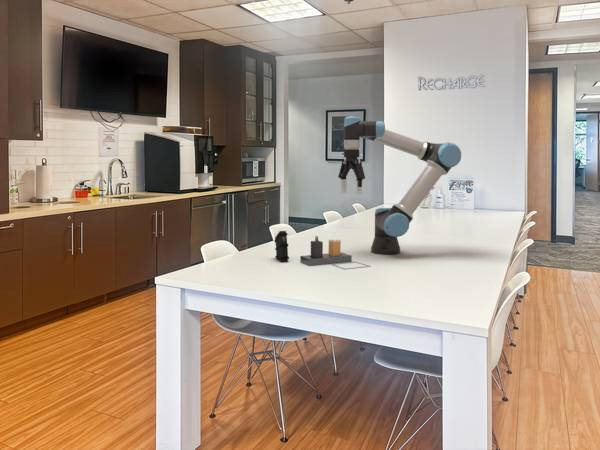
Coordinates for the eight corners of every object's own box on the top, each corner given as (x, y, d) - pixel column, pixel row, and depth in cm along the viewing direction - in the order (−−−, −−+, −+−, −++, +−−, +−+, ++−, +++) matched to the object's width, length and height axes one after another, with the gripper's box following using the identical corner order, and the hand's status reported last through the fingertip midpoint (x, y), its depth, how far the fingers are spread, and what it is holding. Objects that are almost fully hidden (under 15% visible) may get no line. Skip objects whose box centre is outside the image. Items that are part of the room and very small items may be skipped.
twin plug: (318, 261, 239) (318, 235, 238) (322, 263, 236) (322, 236, 234) (310, 262, 237) (310, 235, 236) (314, 264, 234) (314, 237, 232)
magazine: (282, 262, 235) (279, 230, 239) (276, 269, 247) (273, 239, 251) (290, 261, 236) (287, 230, 240) (284, 269, 248) (280, 239, 252)
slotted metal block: (341, 260, 248) (341, 252, 247) (351, 263, 240) (351, 255, 239) (300, 264, 238) (300, 256, 237) (309, 268, 230) (309, 259, 229)
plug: (335, 260, 243) (336, 239, 242) (340, 261, 240) (340, 240, 239) (328, 260, 242) (328, 239, 240) (332, 262, 238) (333, 241, 237)
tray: (356, 263, 240) (356, 261, 240) (371, 268, 229) (371, 266, 229) (330, 266, 233) (330, 264, 233) (344, 271, 223) (344, 269, 223)
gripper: (331, 149, 259) (331, 192, 261) (359, 148, 236) (358, 195, 239) (344, 149, 262) (344, 191, 265) (373, 148, 240) (372, 194, 242)
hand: (351, 193), depth 252 cm, fingers open, 13 cm apart
